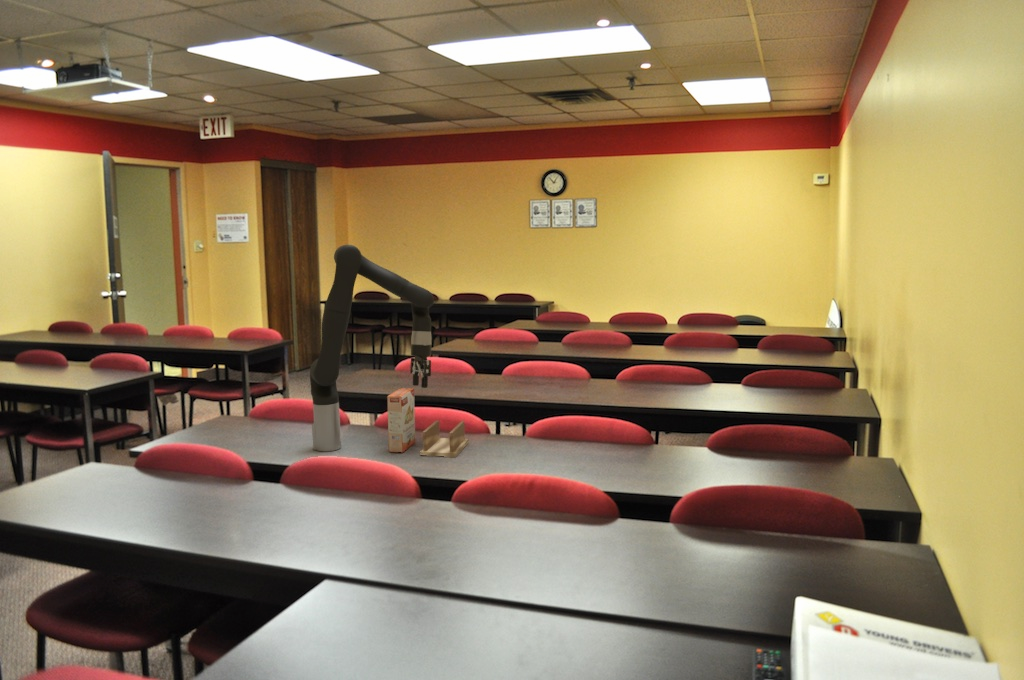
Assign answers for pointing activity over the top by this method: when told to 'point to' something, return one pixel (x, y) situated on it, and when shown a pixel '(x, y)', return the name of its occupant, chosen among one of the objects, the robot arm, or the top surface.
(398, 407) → the cracker box
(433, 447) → the book rack
